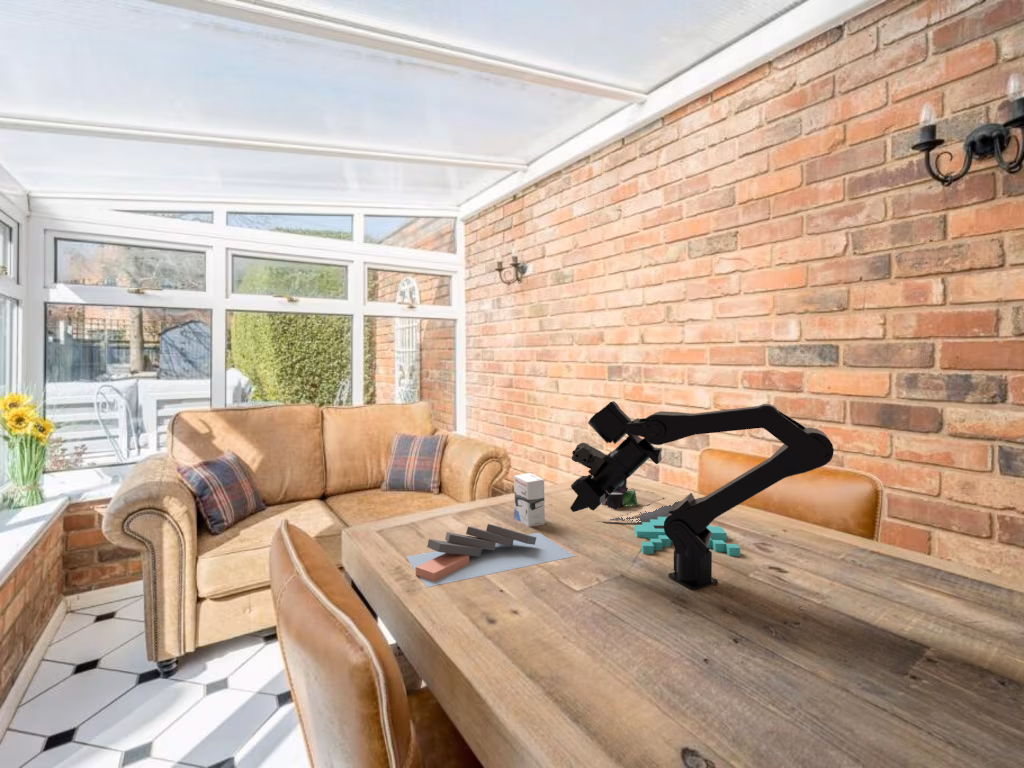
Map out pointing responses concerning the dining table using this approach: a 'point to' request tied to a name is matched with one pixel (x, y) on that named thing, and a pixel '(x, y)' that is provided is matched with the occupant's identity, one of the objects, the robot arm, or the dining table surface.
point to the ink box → (529, 499)
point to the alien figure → (659, 540)
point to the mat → (497, 559)
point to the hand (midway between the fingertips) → (572, 509)
